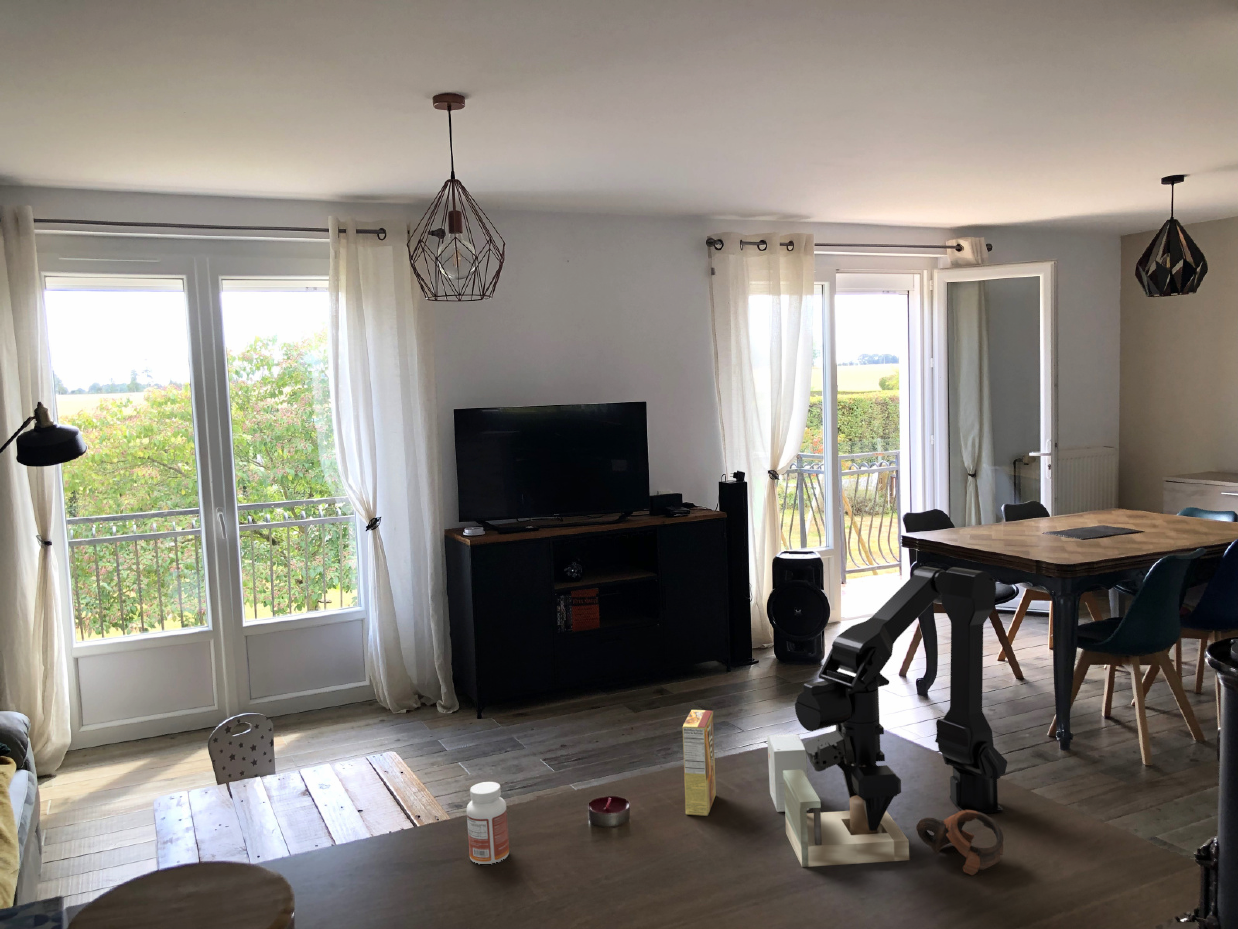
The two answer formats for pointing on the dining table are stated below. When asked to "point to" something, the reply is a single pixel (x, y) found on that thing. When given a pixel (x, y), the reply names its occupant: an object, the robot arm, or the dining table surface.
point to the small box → (784, 763)
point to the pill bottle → (487, 824)
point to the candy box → (699, 762)
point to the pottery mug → (962, 838)
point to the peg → (858, 817)
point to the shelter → (834, 831)
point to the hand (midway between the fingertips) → (863, 817)
